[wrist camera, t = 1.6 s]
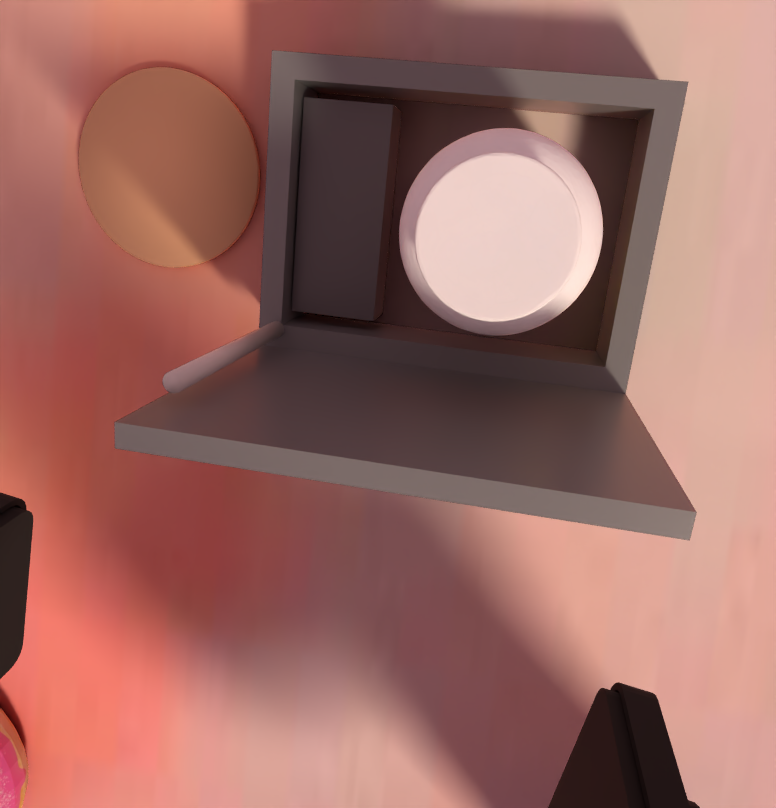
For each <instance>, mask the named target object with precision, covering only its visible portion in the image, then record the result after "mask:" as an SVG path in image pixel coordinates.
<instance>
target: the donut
mask: <svg viewBox="0 0 776 808" xmlns="http://www.w3.org/2000/svg"><path fill="white" fill-rule="evenodd" d="M27 784H28V761H27V757H26V753H25V749H24V746H23V743H22V741H21V739H20V737H19V735H18V733H17V731H16V729H15V727H14V725H13V724H12V723H11V721H10V720H9V718H8V717H7V716H6V714H5V713H4V711H3V710H2V709H1V708H0V808H22V805H23V801H24V797H25V793H26V789H27Z"/></svg>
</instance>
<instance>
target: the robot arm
mask: <svg viewBox="0 0 776 808" xmlns="http://www.w3.org/2000/svg"><path fill="white" fill-rule="evenodd" d="M32 529H33V515H32V513H31V512H30V511H27V510H26V504H25V502H24V501H23V500H22V499H19V498H16V497H13V496H10V495H6V494H3V493H0V679H1V678H2V677H3V676H4V675H5V674H6V673H7V672H8V671H9V670H10V669H11V668H12V666H13V665H14V664H15V662H16V661H17V659H18V657H19V655H20V653H21V650H22V646H23V637H24V625H25V613H26V601H27V589H28V577H29V565H30V553H31V541H32ZM548 808H700V807H699V806H698V805H697V804H696V803H695V802H692V801H688V799H687V796H686V793H685V789H684V786H683V783H682V779H681V776H680V773H679V769H678V766H677V762H676V759H675V756H674V752H673V749H672V746H671V742H670V739H669V736H668V732H667V729H666V725H665V722H664V719H663V715H662V712H661V709H660V705H659V702H658V699H657V697H656V695H655V694H653V693H651V692H648V691H644V690H641V689H638V688H635V687H631V686H628V685H625V684H622V683H615V684H614V685H613V686H612V688H611V690H608V689H604V688H601V689H600V690H599V691H598V693H597V695H596V697H595V699H594V702H593V704H592V706H591V709H590V711H589V713H588V716H587V718H586V720H585V723H584V725H583V727H582V730H581V732H580V734H579V737H578V739H577V741H576V744H575V746H574V748H573V751H572V753H571V755H570V758H569V760H568V763H567V765H566V767H565V770H564V772H563V774H562V777H561V779H560V781H559V784H558V786H557V788H556V791H555V793H554V795H553V798H552V800H551V802H550V805H549V807H548Z"/></svg>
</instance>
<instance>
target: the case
mask: <svg viewBox="0 0 776 808" xmlns="http://www.w3.org/2000/svg"><path fill="white" fill-rule="evenodd" d="M687 86H688V82H684V81H670V80H657V79H644V78H631V77H618V76H604V75H591V74H578V73H565V72H552V71H538V70H525V69H512V68H499V67H486V66H472V65H459V64H446V63H433V62H420V61H406V60H393V59H380V58H367V57H353V56H340V55H327V54H314V53H301V52H287V51H274V50H272V62H271V84H270V106H269V127H268V149H267V171H266V193H265V214H264V236H263V258H262V279H261V301H260V323H259V329H257V330H255V331H253V332H251V333H249V334H247V335H244V336H242V337H240V338H238V339H236V340H234V341H232V342H230V343H228V344H226V345H224V346H222V347H219V348H217V349H215V350H213V351H211V352H209V353H207V354H205V355H203V356H201V357H199V358H196V359H194V360H192V361H190V362H188V363H186V364H184V365H182V366H180V367H178V368H176V369H174V370H171V371H169V372H167V373H166V374H165V375H164V377H163V386H164V388H165V389H166V390H167V391H168V392H169V393H168V394H166V395H164V396H162V397H160V398H158V399H156V400H155V401H153V402H151V403H149V404H147V405H145V406H144V407H142V408H140V409H138V410H136V411H134V412H132V413H131V414H129V415H127V416H125V417H123V418H121V419H119V420H118V421H116V422H115V448H116V449H122V450H128V451H134V452H141V453H147V454H153V455H159V456H166V457H172V458H178V459H184V460H191V461H197V462H203V463H209V464H216V465H222V466H228V467H234V468H241V469H247V470H253V471H259V472H265V473H272V474H278V475H284V476H290V477H297V478H303V479H309V480H315V481H322V482H328V483H334V484H340V485H347V486H353V487H359V488H365V489H372V490H378V491H384V492H390V493H397V494H403V495H409V496H415V497H422V498H428V499H434V500H440V501H446V502H453V503H459V504H465V505H471V506H478V507H484V508H490V509H496V510H503V511H509V512H515V513H521V514H528V515H534V516H540V517H546V518H553V519H559V520H565V521H571V522H578V523H584V524H590V525H596V526H602V527H609V528H615V529H621V530H627V531H634V532H640V533H646V534H652V535H659V536H665V537H671V538H677V539H684V540H690V537H691V533H692V529H693V525H694V521H695V517H696V513H697V512H696V510H695V509H694V507H693V505H692V504H691V502H690V500H689V499H688V497H687V495H686V494H685V492H684V490H683V489H682V487H681V485H680V484H679V482H678V480H677V479H676V477H675V475H674V474H673V472H672V471H671V469H670V467H669V466H668V464H667V462H666V461H665V459H664V457H663V456H662V454H661V452H660V451H659V449H658V447H657V446H656V444H655V442H654V441H653V439H652V437H651V436H650V434H649V432H648V431H647V429H646V427H645V426H644V424H643V422H642V421H641V419H640V417H639V416H638V414H637V412H636V411H635V409H634V407H633V406H632V404H631V402H630V401H629V399H628V397H627V396H626V394H625V393H626V389H627V384H628V379H629V374H630V369H631V364H632V359H633V354H634V349H635V344H636V339H637V334H638V329H639V324H640V319H641V314H642V309H643V304H644V299H645V294H646V289H647V284H648V279H649V274H650V269H651V265H652V260H653V255H654V250H655V245H656V240H657V235H658V230H659V225H660V220H661V215H662V210H663V205H664V200H665V195H666V190H667V185H668V180H669V175H670V170H671V165H672V160H673V155H674V150H675V146H676V141H677V136H678V131H679V126H680V121H681V116H682V111H683V106H684V101H685V96H686V91H687ZM318 93H325V94H337V95H349V96H361V97H373V98H385V99H397V100H409V101H421V102H433V103H445V104H457V105H469V106H481V107H493V108H505V109H517V110H529V111H541V112H553V113H565V114H577V115H589V116H601V117H613V118H625V119H637V120H639V122H638V127H637V133H636V138H635V143H634V149H633V154H632V160H631V165H630V170H629V176H628V181H627V186H626V192H625V197H624V203H623V208H622V213H621V219H620V224H619V230H618V235H617V240H616V246H615V251H614V256H613V262H612V267H611V273H610V278H609V283H608V289H607V294H606V299H605V305H604V310H603V316H602V321H601V326H600V332H599V337H598V343H597V348H596V351H592V350H584V349H576V348H569V347H561V346H553V345H545V344H537V343H529V342H522V341H514V340H506V339H498V338H490V337H482V336H475V335H467V334H459V333H451V332H443V331H435V330H427V329H420V328H412V327H404V326H396V325H388V324H380V323H373V322H365V321H357V320H349V319H341V318H333V317H326V316H318V315H310V314H304V312H306V313H314V314H321V315H329V316H337V317H345V318H353V319H361V320H369V321H374V320H375V319H376V318H378V317H379V316H380V315H381V314H383V305H384V295H385V284H386V274H387V264H388V253H389V243H390V232H391V222H392V212H393V201H394V191H395V180H396V170H397V160H398V149H399V139H400V128H401V118H402V112H401V111H400V110H399V109H398V108H397V107H395V106H394V105H391V104H379V103H367V102H355V101H344V100H332V99H320V98H317V95H318Z"/></svg>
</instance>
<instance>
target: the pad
mask: <svg viewBox="0 0 776 808" xmlns="http://www.w3.org/2000/svg"><path fill="white" fill-rule="evenodd" d="M79 174H80V179H81V185H82V189H83V192H84V195H85V198H86V201H87V203H88V206H89V208H90V210H91V212H92V214H93V216H94V217H95V219H96V221H97V222H98V224H99V225H100V227H101V228H102V229H103V231H104V232H105V233H106V234H107V235H108V236H109V237H110V238H111V240H112V241H113V242H115V243H116V244H117V245H118V246H119V247H120V248H122V249H123V250H124V251H126V252H127V253H129V254H130V255H132V256H134V257H136V258H138V259H140V260H142V261H144V262H147V263H150V264H153V265H157V266H163V267H174V268H178V267H189V266H193V265H198V264H202V263H204V262H207V261H209V260H212V259H214V258H216V257H217V256H219V255H221V254H222V253H224V252H225V251H226V250H227V249H229V248H230V247H231V246H232V245H233V244H234V243H235V242H236V241H237V240H238V239H239V238H240V236H241V235H242V233H243V232H244V231H245V229H246V228H247V226H248V224H249V222H250V220H251V218H252V215H253V213H254V210H255V207H256V204H257V200H258V195H259V188H260V163H259V156H258V151H257V147H256V143H255V140H254V137H253V135H252V132H251V130H250V127H249V126H248V124H247V122H246V120H245V118H244V116H243V115H242V113H241V112H240V110H239V109H238V108H237V106H236V105H235V104H234V103H233V102H232V100H231V99H230V98H229V97H228V96H227V95H226V94H225V93H224V92H222V91H221V90H220V89H219V88H218V87H217V86H215V85H213V84H212V83H210V82H209V81H207V80H206V79H204V78H201V77H199V76H197V75H195V74H193V73H190V72H187V71H184V70H180V69H175V68H169V67H153V68H146V69H141V70H138V71H135V72H132V73H130V74H128V75H126V76H124V77H122V78H120V79H119V80H117V81H116V82H114V83H113V84H112V85H110V86H109V87H108V88H107V89H106V90H105V91H104V92H103V93H102V94H101V96H100V97H99V98H98V99H97V101H96V102H95V104H94V105H93V107H92V109H91V110H90V112H89V114H88V117H87V119H86V121H85V124H84V127H83V131H82V134H81V139H80V145H79Z"/></svg>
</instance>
